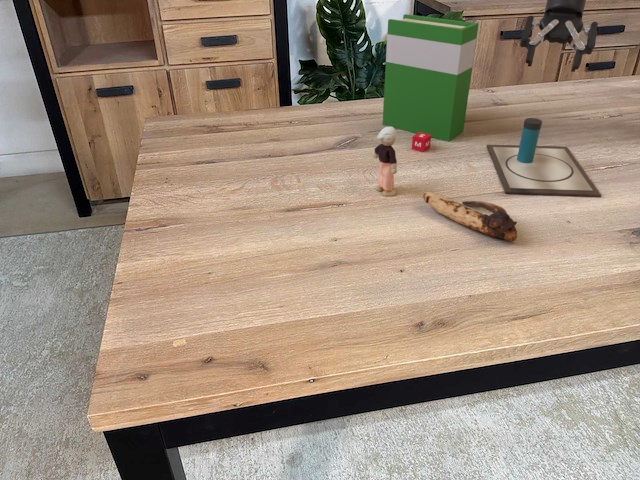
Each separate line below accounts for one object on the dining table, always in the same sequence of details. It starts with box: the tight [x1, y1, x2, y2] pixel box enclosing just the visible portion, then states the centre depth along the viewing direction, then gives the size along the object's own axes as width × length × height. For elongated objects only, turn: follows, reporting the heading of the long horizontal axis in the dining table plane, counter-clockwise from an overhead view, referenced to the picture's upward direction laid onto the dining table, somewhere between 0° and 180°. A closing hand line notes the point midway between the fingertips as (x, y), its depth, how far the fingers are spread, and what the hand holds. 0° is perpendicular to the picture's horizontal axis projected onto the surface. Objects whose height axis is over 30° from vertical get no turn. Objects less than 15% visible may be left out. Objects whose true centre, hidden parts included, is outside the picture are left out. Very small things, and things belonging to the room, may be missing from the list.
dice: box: [411, 132, 432, 153], centre depth 117 cm, size 3×3×3 cm
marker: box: [517, 117, 543, 163], centre depth 108 cm, size 3×3×8 cm
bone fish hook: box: [422, 191, 518, 242], centre depth 91 cm, size 9×5×18 cm
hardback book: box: [382, 13, 479, 142], centre depth 121 cm, size 18×7×24 cm, turn 52°
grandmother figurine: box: [372, 126, 398, 197], centre depth 98 cm, size 8×4×13 cm, turn 35°
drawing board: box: [486, 144, 602, 198], centre depth 108 cm, size 17×22×1 cm
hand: (551, 67), depth 110 cm, fingers open, 8 cm apart
